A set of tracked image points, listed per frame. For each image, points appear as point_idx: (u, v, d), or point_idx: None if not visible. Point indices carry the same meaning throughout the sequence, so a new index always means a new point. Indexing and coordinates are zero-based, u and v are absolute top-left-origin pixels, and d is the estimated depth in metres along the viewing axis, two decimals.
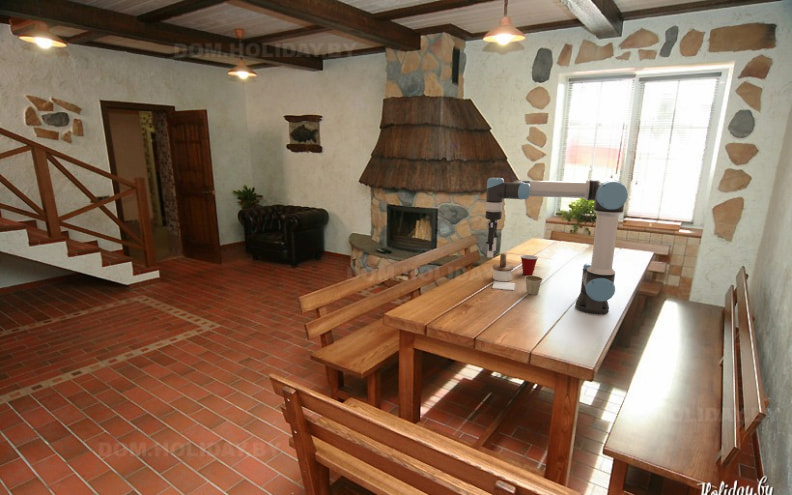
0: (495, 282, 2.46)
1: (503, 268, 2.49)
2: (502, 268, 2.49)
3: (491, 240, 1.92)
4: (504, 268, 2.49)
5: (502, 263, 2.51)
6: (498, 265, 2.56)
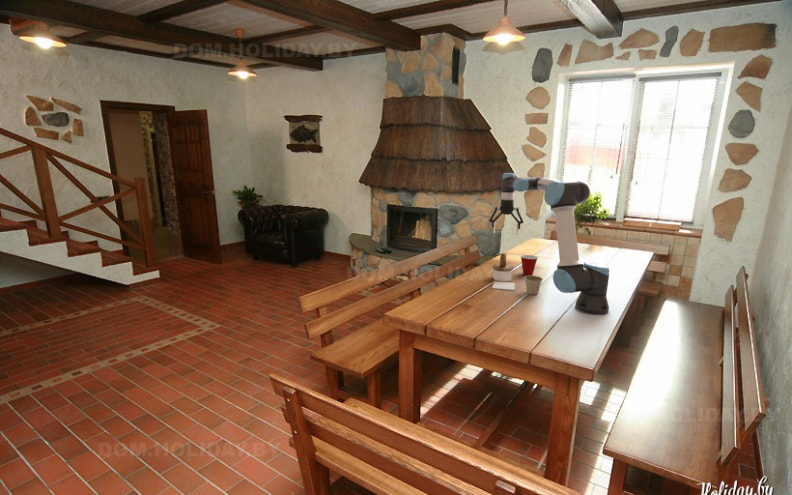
0: (495, 282, 2.46)
1: (503, 268, 2.49)
2: (502, 268, 2.49)
3: None
4: (504, 268, 2.49)
5: (502, 263, 2.51)
6: (498, 265, 2.56)
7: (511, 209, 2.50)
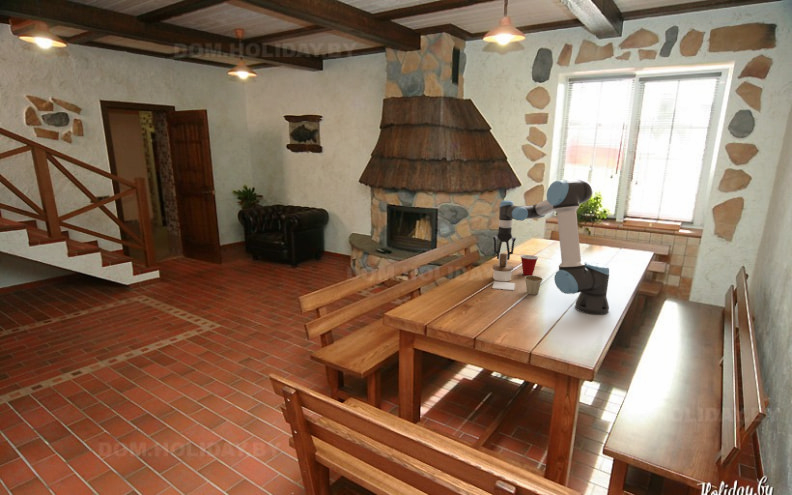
0: (495, 282, 2.46)
1: (503, 268, 2.49)
2: (502, 268, 2.49)
3: None
4: (504, 268, 2.49)
5: (502, 263, 2.51)
6: (498, 265, 2.56)
7: (509, 237, 2.46)
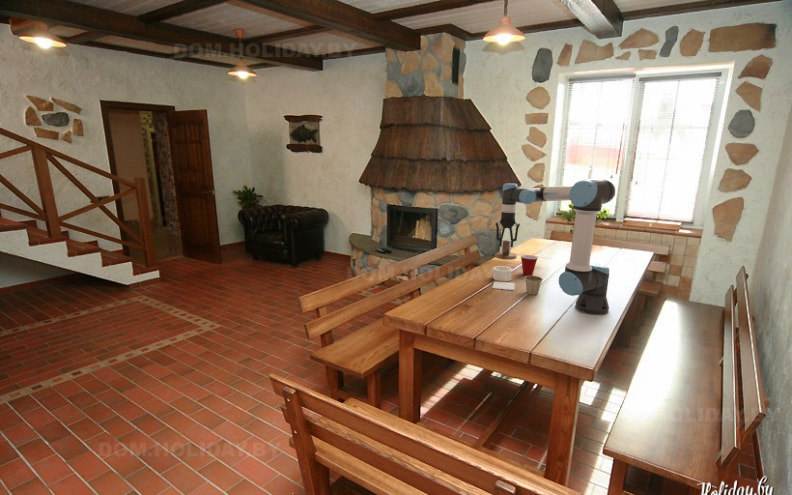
0: (495, 282, 2.46)
1: (506, 256, 2.33)
2: (505, 256, 2.33)
3: None
4: (507, 256, 2.33)
5: (505, 251, 2.34)
6: (501, 253, 2.39)
7: (512, 222, 2.30)
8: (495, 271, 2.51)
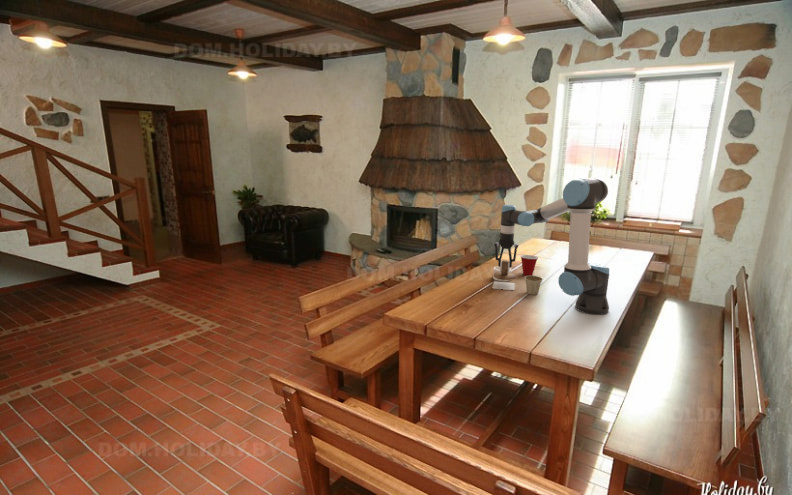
0: (495, 282, 2.46)
1: (505, 276, 2.36)
2: (504, 276, 2.36)
3: None
4: (506, 276, 2.36)
5: (504, 271, 2.37)
6: (500, 273, 2.42)
7: (511, 243, 2.33)
8: (495, 271, 2.51)
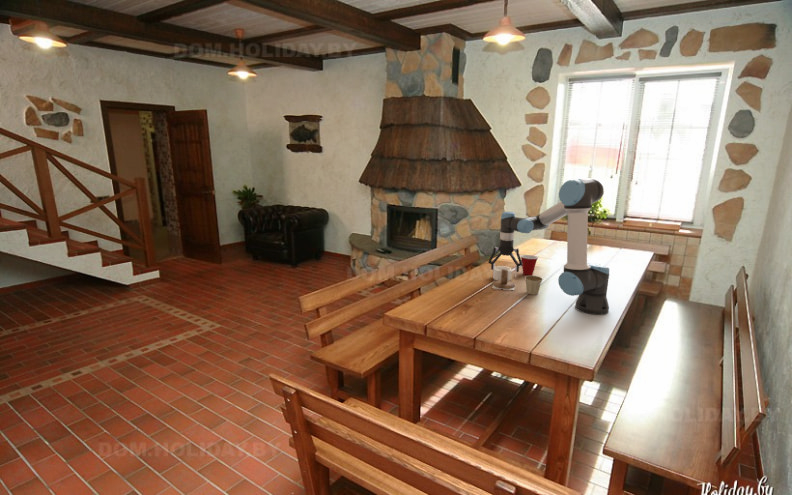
0: None
1: (504, 285, 2.37)
2: (503, 285, 2.37)
3: (489, 260, 2.40)
4: (506, 285, 2.37)
5: (503, 280, 2.38)
6: (499, 281, 2.43)
7: (511, 250, 2.34)
8: (495, 271, 2.51)
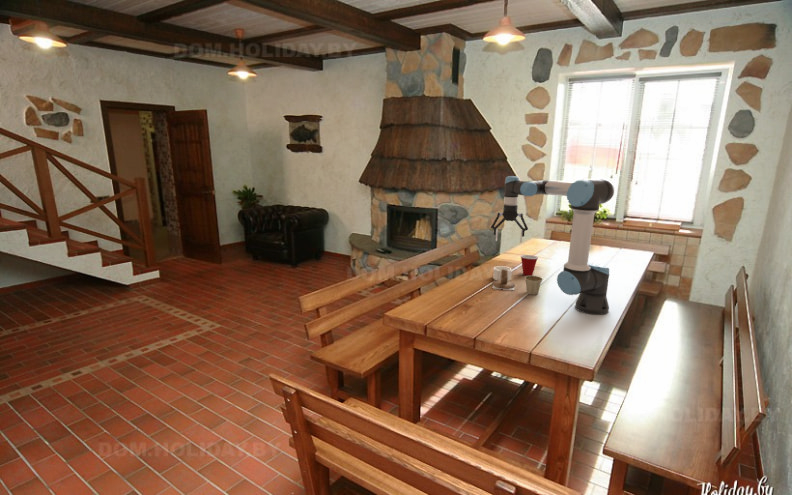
0: None
1: (504, 285, 2.37)
2: (503, 285, 2.37)
3: None
4: (506, 285, 2.37)
5: (503, 280, 2.38)
6: (499, 281, 2.43)
7: (515, 215, 2.32)
8: (495, 271, 2.51)
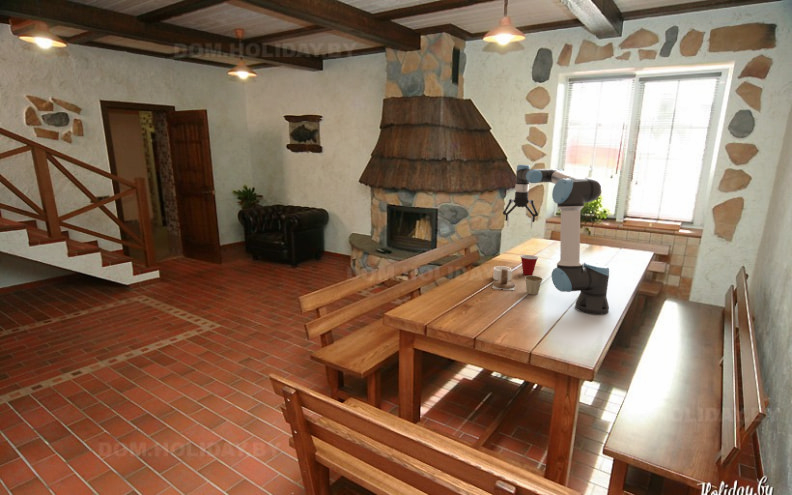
0: None
1: (504, 285, 2.37)
2: (503, 285, 2.37)
3: None
4: (505, 285, 2.37)
5: (503, 280, 2.38)
6: (499, 281, 2.43)
7: (525, 201, 2.45)
8: (495, 271, 2.51)
